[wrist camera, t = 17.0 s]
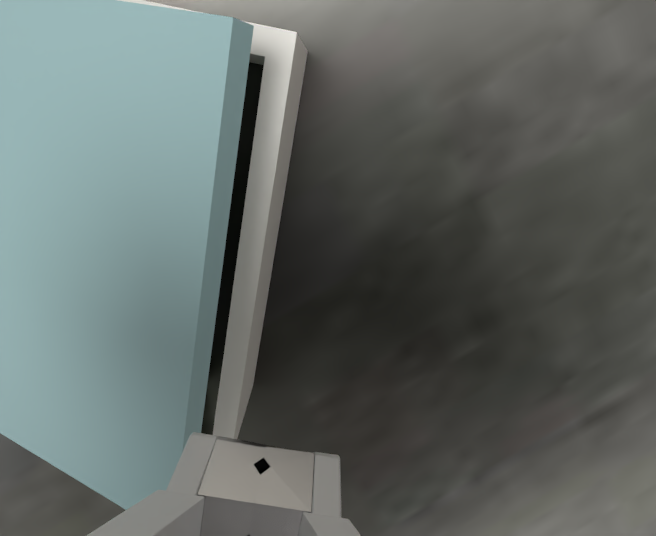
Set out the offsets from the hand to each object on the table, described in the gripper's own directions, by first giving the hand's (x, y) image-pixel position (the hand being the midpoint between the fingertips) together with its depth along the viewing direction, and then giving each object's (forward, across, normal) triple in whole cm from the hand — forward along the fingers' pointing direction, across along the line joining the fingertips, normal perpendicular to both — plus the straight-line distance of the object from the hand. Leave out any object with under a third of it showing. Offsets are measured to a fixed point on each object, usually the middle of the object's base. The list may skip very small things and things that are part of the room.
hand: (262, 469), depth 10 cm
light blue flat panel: (+11, +12, 0) cm, 16 cm away
